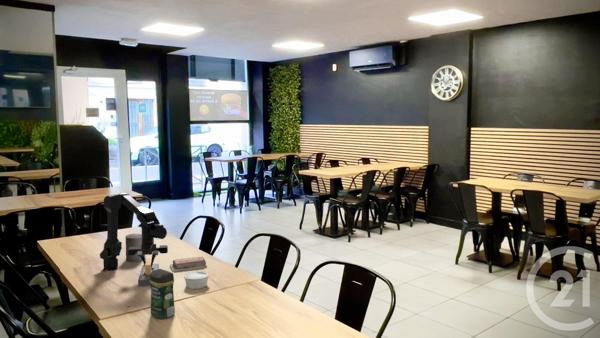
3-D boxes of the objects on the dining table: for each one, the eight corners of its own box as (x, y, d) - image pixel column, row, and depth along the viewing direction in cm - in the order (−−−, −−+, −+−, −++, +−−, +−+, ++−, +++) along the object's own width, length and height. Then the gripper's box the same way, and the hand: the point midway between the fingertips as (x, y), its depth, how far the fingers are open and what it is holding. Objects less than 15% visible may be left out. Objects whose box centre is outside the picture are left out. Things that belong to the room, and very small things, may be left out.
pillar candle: (122, 260, 260) (121, 234, 258) (134, 255, 269) (133, 230, 267) (135, 263, 256) (135, 236, 254) (147, 258, 265) (147, 232, 263)
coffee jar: (147, 315, 188) (146, 270, 186) (164, 308, 194) (163, 265, 192) (161, 321, 182) (160, 275, 180) (178, 315, 188) (177, 270, 186)
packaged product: (202, 254, 257) (207, 259, 248) (202, 263, 258) (207, 268, 249) (169, 258, 250) (172, 263, 241) (169, 267, 250) (172, 272, 241)
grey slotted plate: (155, 285, 222) (155, 279, 222) (138, 286, 220) (138, 280, 220) (158, 269, 245) (158, 263, 245) (142, 270, 243) (142, 264, 243)
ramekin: (212, 283, 225) (212, 272, 224) (200, 291, 214) (200, 280, 214) (192, 280, 229) (192, 270, 228) (179, 288, 218) (179, 277, 218)
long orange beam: (145, 275, 227) (145, 265, 227) (147, 268, 237) (146, 259, 236) (150, 274, 228) (150, 265, 227) (152, 268, 237) (151, 259, 237)
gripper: (125, 241, 220) (126, 273, 222) (166, 239, 225) (167, 270, 226) (128, 235, 231) (129, 266, 233) (167, 233, 236) (168, 263, 237)
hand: (148, 266), depth 232 cm, fingers closed on long orange beam, 2 cm apart
